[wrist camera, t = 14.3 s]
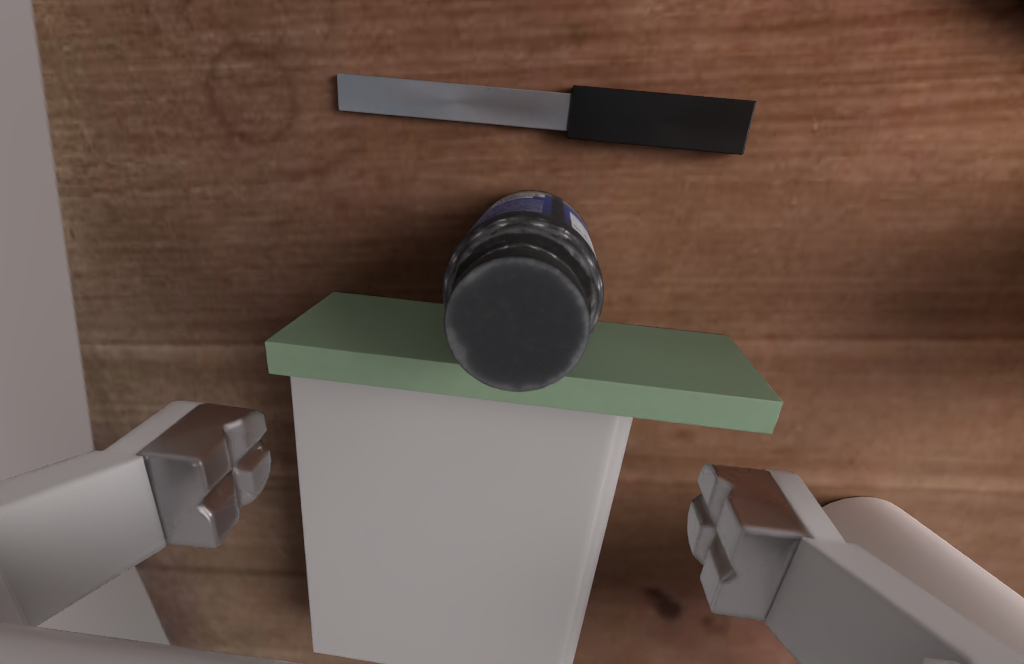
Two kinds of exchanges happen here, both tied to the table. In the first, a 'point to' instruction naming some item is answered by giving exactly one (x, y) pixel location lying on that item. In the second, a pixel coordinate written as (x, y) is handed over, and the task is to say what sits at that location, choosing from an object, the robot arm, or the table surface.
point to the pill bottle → (522, 293)
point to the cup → (931, 565)
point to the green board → (588, 387)
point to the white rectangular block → (450, 523)
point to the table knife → (562, 111)
